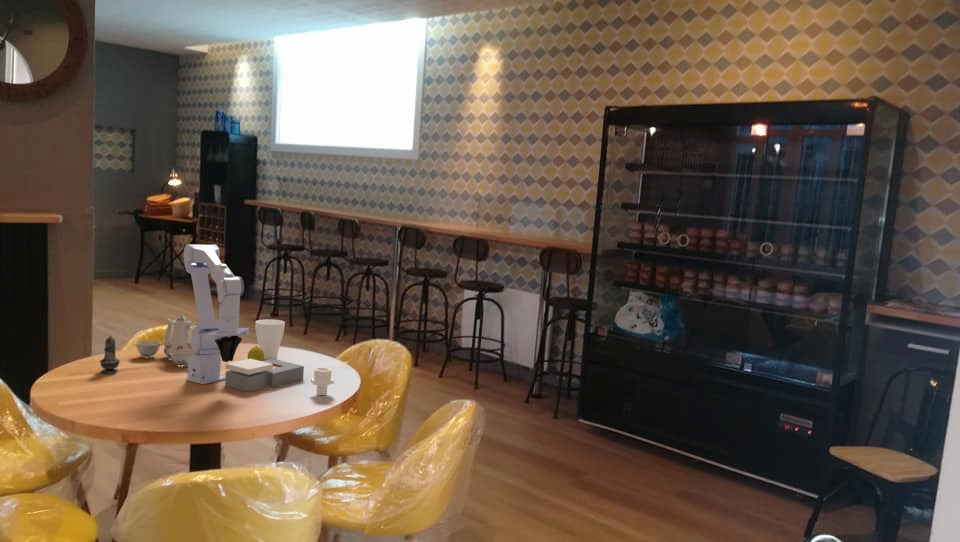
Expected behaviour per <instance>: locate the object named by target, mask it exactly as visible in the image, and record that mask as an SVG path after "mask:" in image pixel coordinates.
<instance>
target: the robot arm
mask: <svg viewBox="0 0 960 542" xmlns="http://www.w3.org/2000/svg"><path fill="white" fill-rule="evenodd" d="M220 252H221V251H220V248H219V246H218V245H217V244H214V243H213V244H190V243H187V244H186V245H185V246H184V250H183V254H182V255H183V262H184V268H185V271H186V272H187V273H188V274H190V275H191V276H190V277H191V281H192V288H193V293H194V299H195V305H196V306H195V307H196V312H197V313H196V314H197V318H198V319H197V320H198V323H197V324H195V325H194V326H195V327H194V328H193V327H192V329H191V330H190V335H191V346H192V349H193V350H194V351H195V352H197V353H196V354H195V355H192V356H191V357H190V358H189V360H188V366H187V378H185V381H188V382H189V381H190V382H192V383H197V384H200V385H205V384H210V383H214V382H219V381H222V380H225V376H223V375H221V361H222V362H225V363H229V362H234V361H233V360H234V357H235V354H236V352H237V348H239V345H240V344H241V342H242V338H243V337H241V336H249V335H250V328H248V327H239V325H240V304H241V303H240V301H241V296H243V294H244V291H245V284H244V280H243V278H242V277H241V276H237V275H236V276H235V275H234V273H233V272H232V271H231V269H230V268H229V267H228V265H227V264H226V263H222V261H221V259H220ZM209 274H210V277H211V278H212V280H213V281H214V283H215V284H216V292H217V302H219V311H218V312H219V313H218V321H217V320H216V319H215V313H214V312H215V311H214V305H213V301H212V299H213V298H212V295H211V294H212V293H211V287H210V281H209Z"/></svg>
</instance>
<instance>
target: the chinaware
mask: <svg viewBox="0 0 960 542" xmlns="http://www.w3.org/2000/svg"><path fill="white" fill-rule="evenodd" d="M166 321H167V327H166V330H165V334H164V337H163V344H162V342H161V341H160V340H153V341H151V340H148V339H147V340H146V339H144V340H142V341H140V342H139V341H135V342H134V344H135V346H136V348H137V352H138V353H139V354H140V355H141V356H142V357H144V356H145V357H150V356H153V357H154V356H155V355H156V354H157V353H158V352H159V350H160V346H162V345H163V347H164V350H163V353H164V355H165V356H166V357H167V359H168V358H169V359H171V360H172V361H171V362H172V363H174V364H175V366H177V365H180V366H181V365H185V366H186V367H188V360H189V358H190V357H191V356H192V355H195V354H196V353H197V352H195V351H194V350H193V349H192V346H191V331H192V329H193V328H194V327H195V326H196V325H192V320H190V319H189V320H188V318H187V317H186V316H185V315H184V314H183V313H181V314H180V315H179V316H178V317H177V318H176V319H174V320H171V319H170V318H166Z"/></svg>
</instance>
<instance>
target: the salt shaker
mask: <svg viewBox="0 0 960 542" xmlns="http://www.w3.org/2000/svg"><path fill="white" fill-rule="evenodd" d="M104 345H105V347H104V348H103V350H104V357H103V359H101V360H99V363H100V366H101V368H103V369H101V370H100V374H102V375H103V374H104V375H106V374H107V375H111V374H112V375H113V374H117V372H118V373H119V372H120V370H119V369H117V368H118V367H119V365H120V362H121V359H118V358H117V356H116V350H117V347H116V339H115V338H114V337H112V335H109V337H108V338H106V339H105V343H104Z"/></svg>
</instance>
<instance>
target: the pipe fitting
mask: <svg viewBox="0 0 960 542" xmlns="http://www.w3.org/2000/svg"><path fill="white" fill-rule="evenodd" d="M313 370H314V371H313V377H311V378H310V383H312V385H314V386H315V385H316V390H315V391H316V396H318V395H325V396H327V395H326V394H328V387H329V385H332V384H334V383H335V380H334V379H333V378H332V368H330V367H324V366H323V367H321V366H320V367H316V368H314V369H313Z"/></svg>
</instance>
